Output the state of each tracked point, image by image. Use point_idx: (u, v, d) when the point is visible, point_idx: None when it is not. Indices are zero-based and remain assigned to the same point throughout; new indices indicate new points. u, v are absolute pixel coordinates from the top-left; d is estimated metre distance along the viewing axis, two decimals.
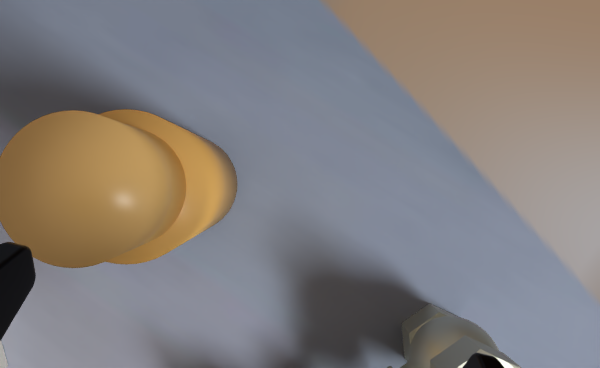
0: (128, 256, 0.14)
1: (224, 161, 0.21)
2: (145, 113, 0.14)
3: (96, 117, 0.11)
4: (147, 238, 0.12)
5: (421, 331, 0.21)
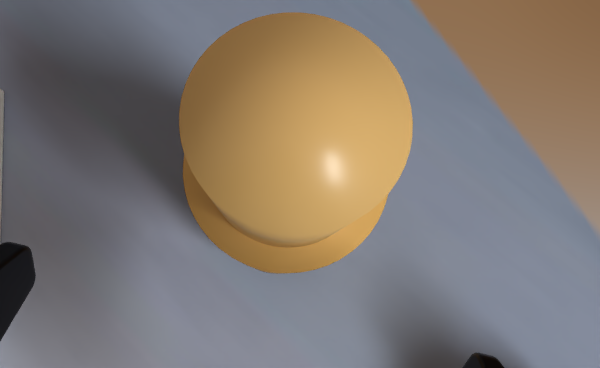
0: (275, 261, 0.10)
1: None
2: None
3: (343, 29, 0.08)
4: None
5: None
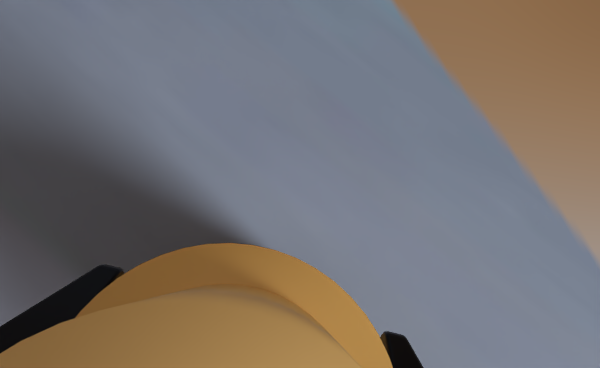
0: None
1: None
2: (292, 260, 0.06)
3: (297, 341, 0.03)
4: None
5: None
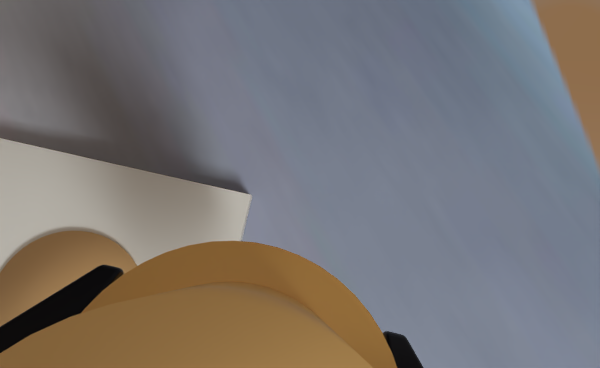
0: None
1: None
2: (296, 257, 0.07)
3: (304, 335, 0.03)
4: None
5: None
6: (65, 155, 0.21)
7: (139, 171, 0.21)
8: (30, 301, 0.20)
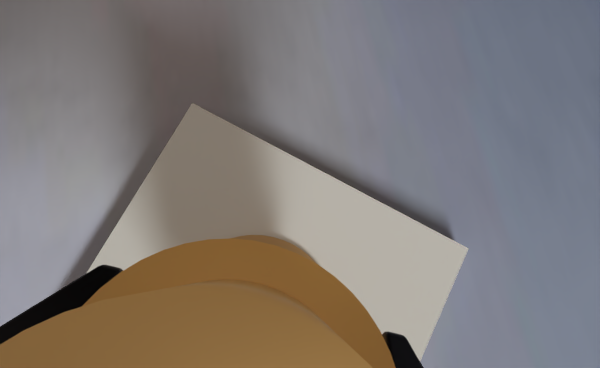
0: None
1: None
2: (293, 255, 0.06)
3: (299, 330, 0.03)
4: None
5: None
6: (280, 152, 0.19)
7: (353, 190, 0.19)
8: None
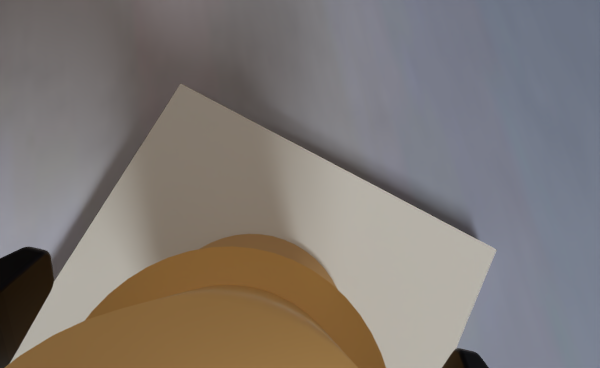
0: None
1: None
2: (290, 262, 0.07)
3: (292, 335, 0.03)
4: None
5: None
6: (281, 139, 0.17)
7: (365, 183, 0.17)
8: None
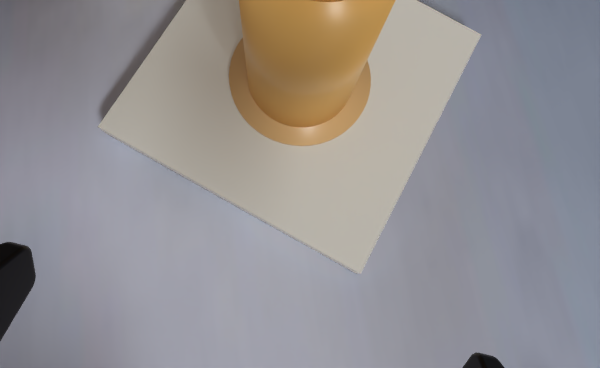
0: (312, 12, 0.12)
1: None
2: None
3: None
4: None
5: None
6: None
7: None
8: None
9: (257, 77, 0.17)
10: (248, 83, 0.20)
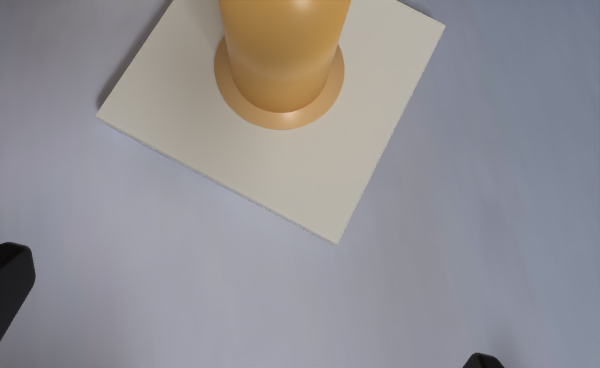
0: (278, 4, 0.14)
1: None
2: None
3: None
4: None
5: None
6: None
7: None
8: None
9: (238, 66, 0.19)
10: (232, 73, 0.22)
